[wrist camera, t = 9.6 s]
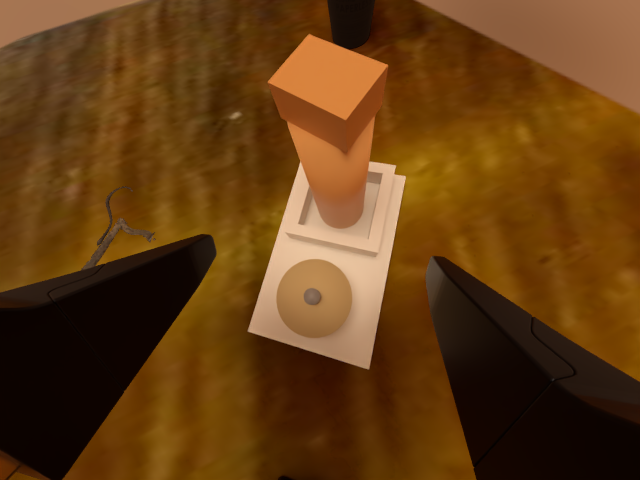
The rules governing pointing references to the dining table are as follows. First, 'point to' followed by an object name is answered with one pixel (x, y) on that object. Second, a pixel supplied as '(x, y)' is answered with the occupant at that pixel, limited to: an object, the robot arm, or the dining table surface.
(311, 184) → the orange square-topped peg
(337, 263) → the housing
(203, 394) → the dining table surface
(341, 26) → the drinking cup
